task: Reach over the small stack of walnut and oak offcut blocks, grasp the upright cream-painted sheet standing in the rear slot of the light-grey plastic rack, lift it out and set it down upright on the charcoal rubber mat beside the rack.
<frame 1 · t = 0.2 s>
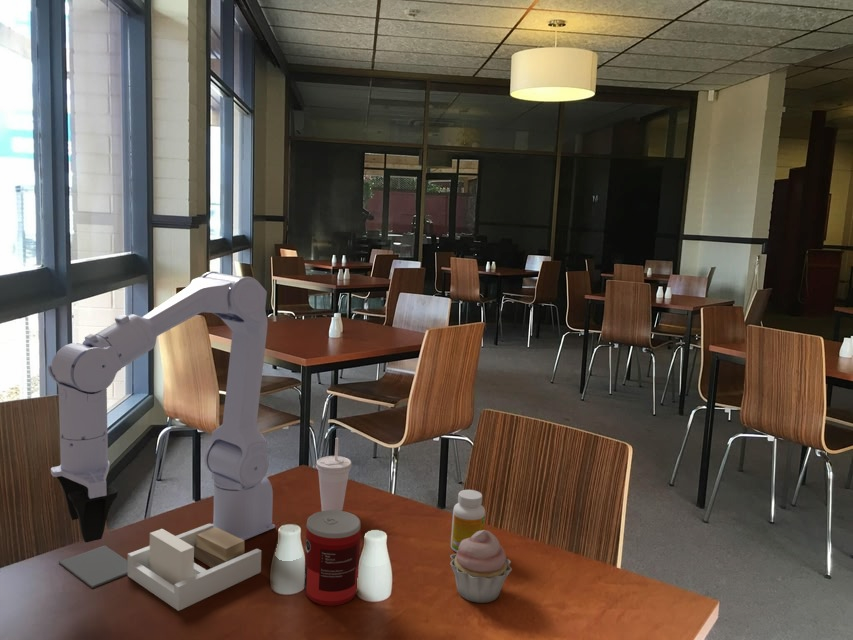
hand: (86, 528, 93), 10 cm above the table, tool pointing down, fingers open, 7 cm apart
offcut low: (220, 565, 106), on the table, touching offcut top
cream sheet: (171, 585, 99), resting in rack
smoothie: (331, 512, 126), on the table
mat: (98, 566, 102), on the table
cupcake: (478, 593, 102), on the table
rack: (195, 574, 102), on the table
canned food: (330, 593, 100), on the table
supplement bottle: (466, 549, 115), on the table
offcut top: (220, 549, 105), point 2 cm above the table, touching offcut low
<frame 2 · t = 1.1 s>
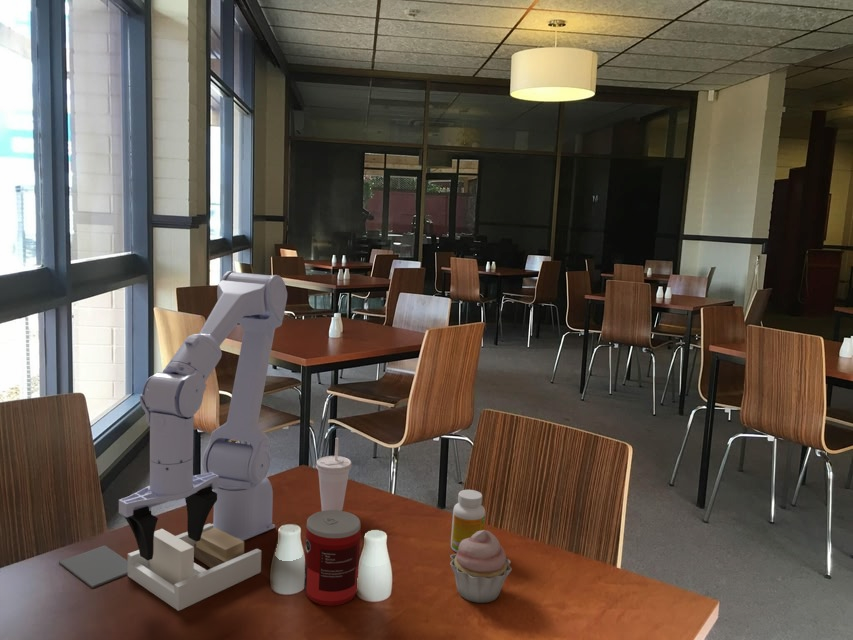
hand: (171, 547, 98), 6 cm above the table, tool pointing down, fingers open, 7 cm apart
nothing on the table moved.
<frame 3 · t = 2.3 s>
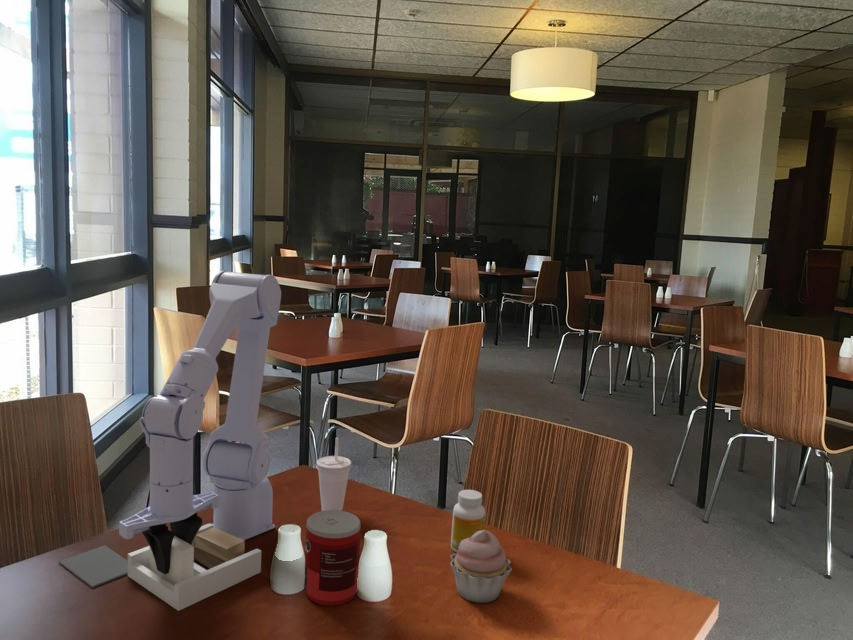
hand: (171, 567, 98), 3 cm above the table, tool pointing down, fingers closed on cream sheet, 2 cm apart
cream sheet: (171, 584, 99), resting in rack, touching gripper
everything else where it was.
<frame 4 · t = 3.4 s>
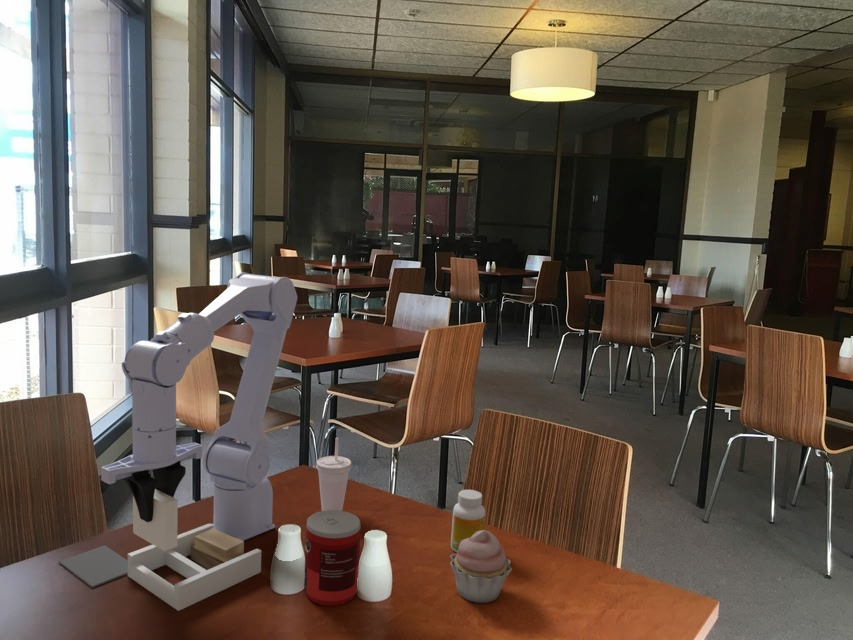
hand: (154, 516, 98), 10 cm above the table, tool pointing down, fingers closed on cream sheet
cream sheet: (154, 539, 99), point 6 cm above the table, touching gripper
everything else where it was.
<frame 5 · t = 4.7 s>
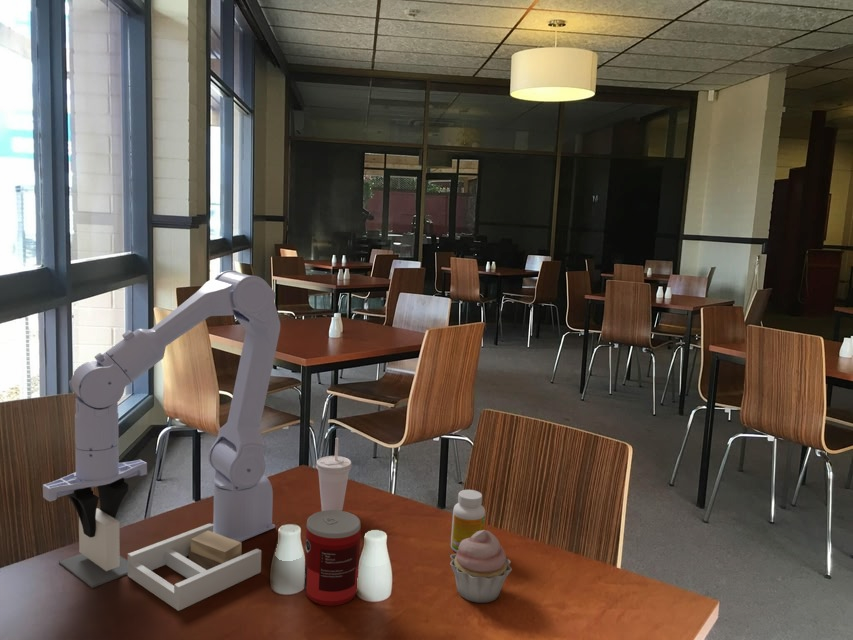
hand: (98, 531, 102), 6 cm above the table, tool pointing down, fingers closed on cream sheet, 2 cm apart
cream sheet: (99, 559, 102), point 1 cm above the table, touching gripper
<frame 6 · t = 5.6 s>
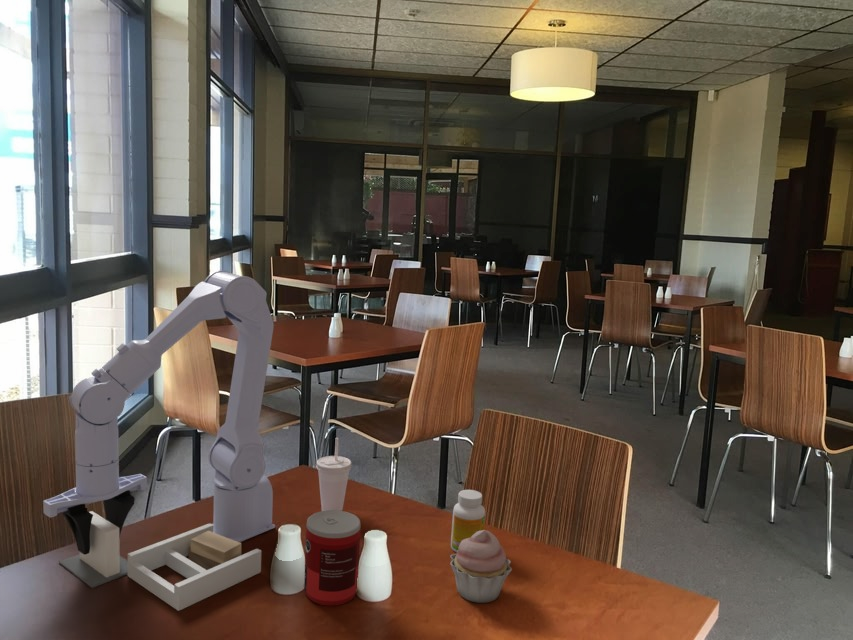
hand: (98, 546, 102), 3 cm above the table, tool pointing down, fingers open, 4 cm apart
offcut low: (215, 568, 105), on the table
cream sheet: (99, 565, 102), resting on mat
offcut top: (215, 553, 104), point 2 cm above the table
everything else where it was.
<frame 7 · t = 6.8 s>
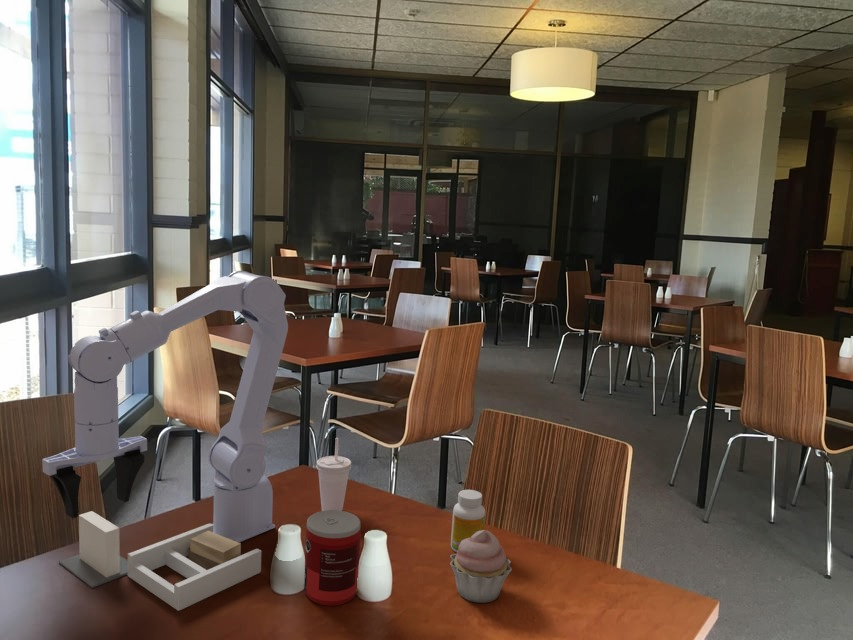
hand: (98, 507, 101), 9 cm above the table, tool pointing down, fingers open, 7 cm apart
offcut low: (215, 568, 105), on the table, touching offcut top
offcut top: (215, 553, 104), point 2 cm above the table, touching offcut low
everything else where it was.
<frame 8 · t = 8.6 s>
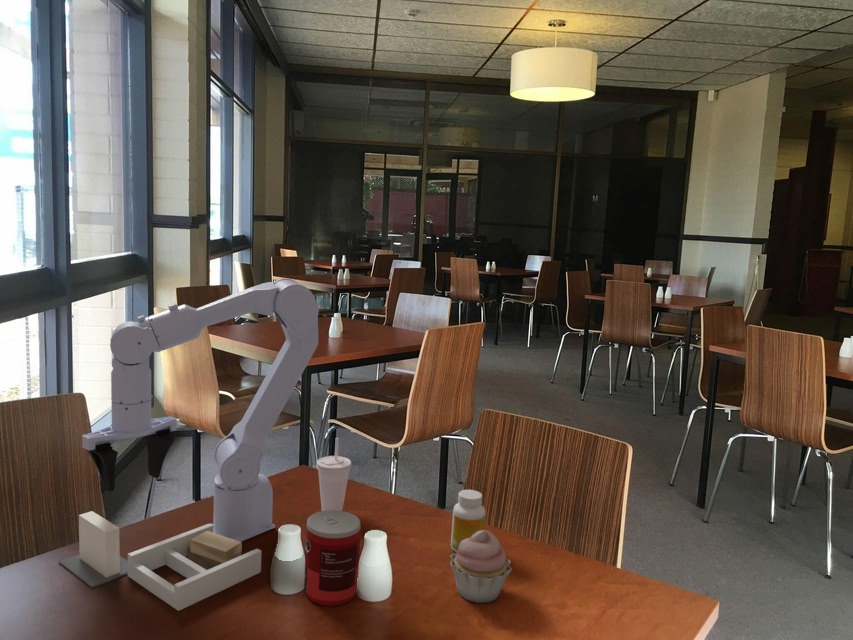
hand: (132, 482, 108), 10 cm above the table, tool pointing down, fingers open, 7 cm apart
nothing on the table moved.
at the end: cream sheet inside the target area on the mat (0.3 cm from its centre), point 0.3 cm above the mat's base; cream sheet tilted 0°; the gripper is holding nothing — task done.
